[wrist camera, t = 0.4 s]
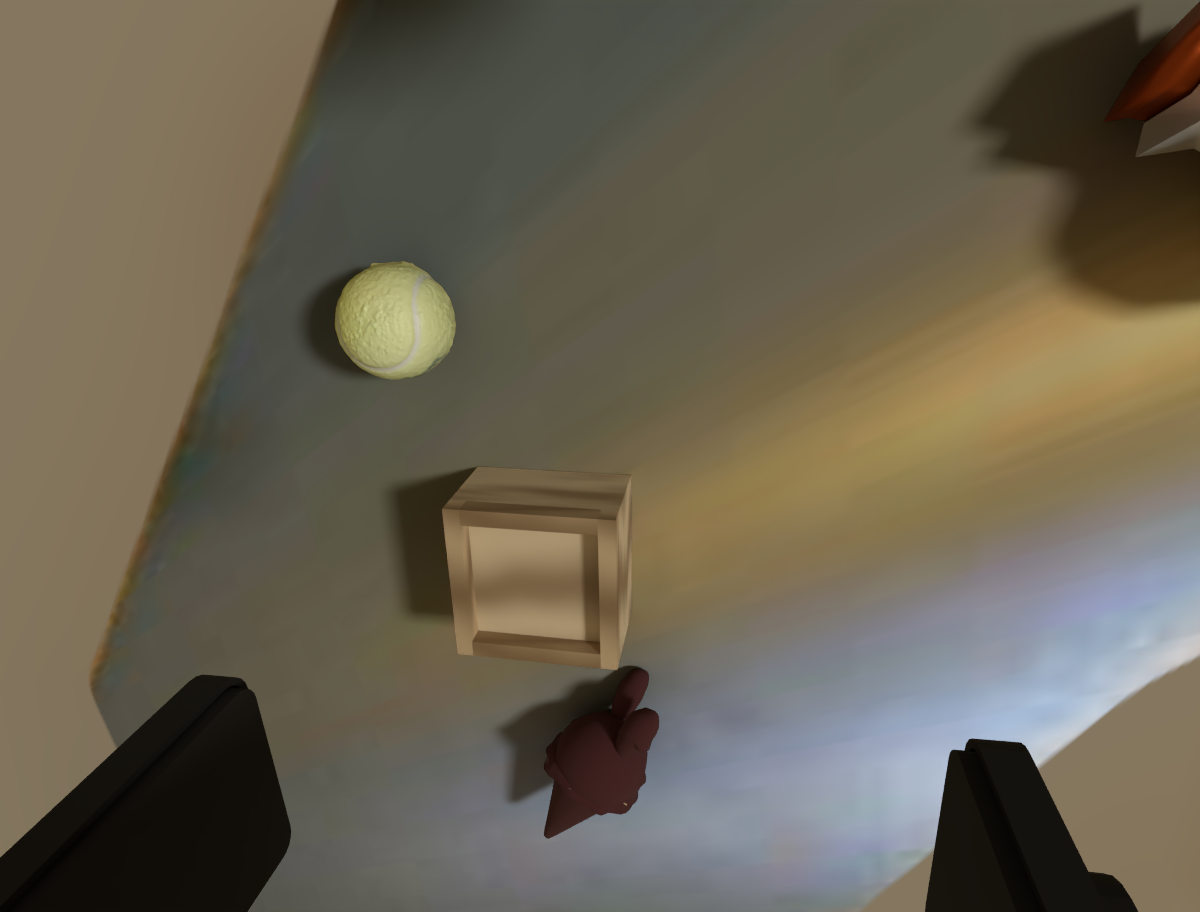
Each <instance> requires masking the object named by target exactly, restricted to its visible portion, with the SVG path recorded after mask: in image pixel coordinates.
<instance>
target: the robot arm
mask: <svg viewBox="0 0 1200 912" xmlns="http://www.w3.org/2000/svg"><path fill="white" fill-rule="evenodd" d="M290 838H291V827H290V823H289V819H288V815H287V811H286V808H285V804H284V800H283V796H282V793H281V789H280V785H279V781H278V778H277V774H276V770H275V766H274V763H273V759H272V755H271V752H270V748H269V744H268V740H267V737H266V733H265V729H264V725H263V722H262V718H261V714H260V710H259V707H258V703H257V699H256V696H255V694H254V692H253V691H251V690H249V689H248V687H247V685H246V683H245V682H244V681H243V680H242V679H241V678H236V677H225V676H213V675H200V676H196V677H195V678H193V679H192V680H191V681H189V682H188V683H187V684H186V685H185V686H184V687H183V688H182V689H181V690H180V691H178V692H177V693H176V694H175V695H174V696H173V697H172V698H171V699H170V700H169V701H168V702H167V703H166V704H165V705H163V706H162V707H161V708H160V709H159V710H158V711H157V712H156V713H155V714H154V715H153V716H152V717H151V718H150V719H148V720H147V721H146V722H145V723H144V724H143V725H142V726H141V727H140V728H139V729H138V730H137V731H136V732H135V733H133V734H132V735H131V736H130V737H129V738H128V739H127V740H126V741H125V742H124V743H123V744H122V745H121V746H119V747H118V748H117V749H116V750H115V751H114V752H113V753H112V754H111V755H110V756H109V757H108V758H107V759H106V760H105V761H104V762H102V763H101V764H100V765H99V766H98V767H97V768H96V769H95V770H94V771H93V772H92V773H91V774H89V775H88V776H87V777H86V778H85V779H84V780H83V781H82V782H81V783H80V784H79V785H78V786H77V787H76V788H75V789H73V790H72V791H71V792H70V793H69V794H68V795H67V796H66V797H65V798H64V799H63V800H62V801H61V802H59V803H58V804H57V805H56V806H55V807H54V808H53V809H52V810H51V811H50V812H49V813H48V814H47V815H45V817H43V818H42V819H41V820H40V821H39V822H38V823H37V824H36V825H35V826H34V827H33V828H32V829H31V830H29V831H28V832H27V833H26V834H25V835H24V836H23V837H22V838H21V839H20V840H19V841H18V842H17V843H16V844H14V845H13V846H12V848H10V849H9V850H8V851H7V852H6V853H5V854H4V855H3V856H2V857H0V912H248V910H249V909H250V907H251V905H252V904H253V902H254V901H255V899H256V898H257V896H258V895H259V893H260V892H261V890H262V889H263V887H264V886H265V884H266V883H267V881H268V880H269V878H270V877H271V875H272V874H273V872H274V871H275V869H276V868H277V866H278V865H279V863H280V862H281V860H282V859H283V857H284V855H285V853H286V851H287V849H288V846H289V843H290ZM925 912H1138V910H1137V908H1136V907H1135V905H1134V903H1133V901H1132V899H1131V898H1130V896H1129V895H1128V893H1127V891H1126V890H1125V888H1124V887H1123V885H1122V884H1121V883H1120V882H1119V881H1118V880H1117V879H1116V878H1114V877H1113V876H1112V875H1107V874H1104V873H1095V872H1088V870H1087V868H1086V866H1085V864H1084V862H1083V860H1082V858H1081V856H1080V854H1079V852H1078V850H1077V848H1076V846H1075V844H1074V842H1073V840H1072V838H1071V836H1070V834H1069V832H1068V830H1067V828H1066V826H1065V824H1064V822H1063V820H1062V818H1061V815H1060V813H1059V811H1058V810H1057V807H1056V805H1055V804H1054V801H1053V799H1052V797H1051V795H1050V793H1049V791H1048V789H1047V787H1046V785H1045V783H1044V781H1043V779H1042V777H1041V775H1040V773H1039V771H1038V769H1037V767H1036V765H1035V763H1034V761H1033V759H1032V757H1031V755H1030V753H1029V751H1028V750H1027V748H1026V746H1025V745H1023V744H1022V743H1019V742H1007V741H995V740H983V739H969V740H968V742H967V743H966V747H965V751H962V750H952V751H951V752H950V755H949V760H948V766H947V772H946V779H945V785H944V792H943V798H942V804H941V811H940V817H939V823H938V830H937V836H936V842H935V849H934V855H933V862H932V868H931V874H930V882H929V887H928V893H927V900H926V908H925Z"/></svg>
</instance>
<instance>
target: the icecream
mask: <svg viewBox="0 0 1200 912" xmlns="http://www.w3.org/2000/svg"><path fill="white" fill-rule="evenodd" d="M648 681H649V675H648V672H647V671H645V670H643V669H636V670H633V671H630V672H629V674H628V675H627V676H626V677H625V678H624V679H623V680H622V681H621V682H620V685H619V687H618V689H617V692H616V694H615V697H614V699H613V704H612V710H611V711H597V712H594V713H590V714H587V715H584V716H582V717H579V718H577V719H575V720H573V721H572V722H571V723H570V724H569V725H568V726H567V728H566V729H565V730H564V731H563V732H561V733H559V734H558V735H557V736H556V738H555V739H554V741H553V742H552V743H551V744H550V745H549V746H548V747H547V748H546V753H547V758H546V761H545V763H544V769H545V771H546V772H547V774H548V775H549V776H550V777H552V778H553V779H554V785H553V790H552V795H551V800H550V806H549V811H548V816H547V820H546V825H545V830H544V836H545V837H546V838H548V839H549V838H551V837H553V836H555V835H557V834H559V833H561V832H563V831H565V830H567V829H569V828H571V827H572V826H574V825H576V824H578V823H580V822H582V821H584V820H586V819H588V818H589V817H591V816H593V815H595V814H598V815H604V814H606V813H615V814H624V813H626V812H627V811H629V810H630V808H631V806H632V805H633V804H634V803H635V802H636V801H637V799H638V791H639V789H640V787H641V786H642V785H643V784H644V783H645V782H646V775H645V769H646V763H647V751H648V750H649V748H650V745H651V742H652V740H653V738H654V737H655V735H656V733H657V731H658V729H659V716H658V714H657V713H656V712H655V711H653V710H651V709H649V708H642V709H639V710H636V711H634V710H635V709H636V708H637V706H638V705H639V703H640V702H641V700H642V698H643V696H644V693H645V691H646V689H647V686H648Z"/></svg>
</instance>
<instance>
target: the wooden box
mask: <svg viewBox="0 0 1200 912" xmlns="http://www.w3.org/2000/svg"><path fill="white" fill-rule="evenodd" d="M442 515H443V524H444V533H445V542H446V551H447V560H448V569H449V578H450V587H451V596H452V605H453V614H454V623H455V632H456V641H457V650H458V654H465V655H475V656H485V657H494V658H504V659H514V660H524V661H534V662H543V663H553V664H563V665H573V666H582V667H592V668H602V669H612V670H617V669H618V665H619V661H620V657H621V653H622V649H623V644H624V640H625V636H626V632H627V628H628V624H629V620H630V616H631V612H632V545H631V475H620V474H602V473H584V472H566V471H548V470H530V469H512V468H494V467H477V468H476V469H475V471H474V472H473V473H472V474H471V475H470V476H469V478H468V479H467V480H466V481H465V482H464V483H463V485H462V486H461V487H460V488H459V489H458V491H457V492H456V493H455V494H454V495H453V496H452V498H451V499H450V500H449V501H448V502H447V503H446V505H445V506H444V507H443V508H442Z"/></svg>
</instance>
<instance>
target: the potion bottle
mask: <svg viewBox="0 0 1200 912" xmlns="http://www.w3.org/2000/svg"><path fill="white" fill-rule="evenodd" d="M1124 118H1132V119H1137V120H1142V121H1145V122H1144V125H1143V129H1142V132H1141V136H1140V140H1139V144H1138V148H1137V151H1136V155H1135V157H1141V156H1148V155H1154V154H1161V153H1168V152H1174V151H1181V150H1188V149H1196V150H1197V151H1199V152H1200V2H1199V3H1198V4H1197V5H1196V6H1195V7H1194V8H1193V9H1192V10H1191V11H1190V12H1189V13H1188V14H1187V15H1186V16H1185V17H1184V18H1183V19H1182V20H1181V21H1180V22H1179V23H1178V24H1177V25H1176V26H1175V27H1174V28H1173V29H1172V30H1171V31H1170V32H1169V33H1168V34H1167V35H1166V36H1165V37H1164V38H1163V39H1162V40H1161V41H1160V42H1159V43H1158V44H1157V45H1156V46H1155V47H1154V48H1153V49H1152V50H1151V52H1150V53H1149V54H1148V55H1147V56H1146V57H1145V58H1144V59H1143V60H1142V61H1141V62H1140V63H1139V64H1138V66H1137V67H1136V69H1135V71H1134V72H1133V74H1132V76H1131V77H1130V79H1129V80H1128V82H1127V84H1126V85H1125V87H1124V89H1123V90H1122V92H1121V94H1120V95H1119V97H1118V98H1117V100H1116V102H1115V103H1114V105H1113V107H1112V108H1111V110H1110V111H1109V113H1108V115H1107V116H1106V118H1105V120H1104V121H1103V123H1104V122H1109V121H1114V120H1119V119H1124Z"/></svg>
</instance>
